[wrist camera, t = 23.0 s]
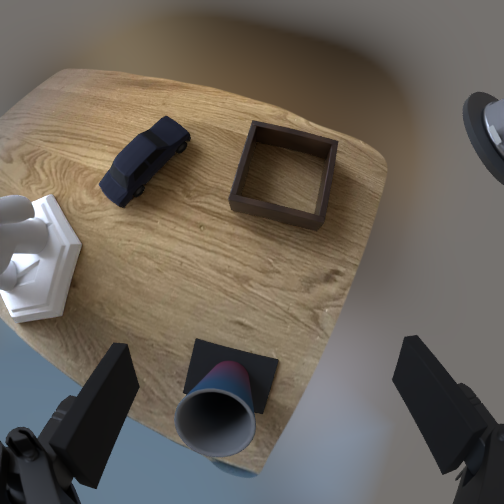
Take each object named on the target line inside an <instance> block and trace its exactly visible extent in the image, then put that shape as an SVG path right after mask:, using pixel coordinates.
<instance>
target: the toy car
mask: <svg viewBox="0 0 504 504" xmlns="http://www.w3.org/2000/svg"><path fill="white" fill-rule="evenodd" d="M190 139H191V137H190V134H189V132H188V131H187V130H186V129H185V128H183V127H182V126H181V125H180V124H178V123H177V122H176V121H174V120H173V119H171V118H169V117H168V116H164V117H163V118H161V119H160V120H159V121H158V122H157V123H155V124H154V125H153V126H152V127H151V128H150V129H149V130H147V131H145V132H143V133H140V134H138V135H137V136H136V137H135V138H134V139H133V140H132V141H131V142H130V143H129V144H128V145H127V146H126V147H125V148H124V149H123V150H122V151H121V152H120V153H119V154H118V155H117V156H116V158H115V159H114V161H113V164H112V166H111V168H110V169H109V170H108V172H107V173H106V174H105V176H104V177H103V179H102V180H101V181H100V183H99V186H100V187H101V189H102V191H103V193H104V194H105V195H106V196H107V197H108V198H109V199H110V200H111V201H112V202H113V203H115V204H116V205H118V206H119V207H122V208H125V206H126V205H127V204H128V203H129V202H130V201H131V200H132V199H133V196H134V197H139V196H140V195H141V194H142V193H143V192H144V189H145V187H144V185H143V184H146V183H147V182H148V181H149V180H150V179H151V178H152V177H153V176H154V175H155V174H156V173H157V172H158V171H159V170H160V169H161V168H162V167H163V166H164V165H165V164H166V163H167V162H168V161H169V160H170V159H171V158H172V157H173V156H174V155H175V152H177V153H178V154H179V153H182V152H183V151H184V150H185V149H186V147H187V143H186V142H185V141H187V142H189V141H190Z"/></svg>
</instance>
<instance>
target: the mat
mask: <svg viewBox="0 0 504 504" xmlns="http://www.w3.org/2000/svg"><path fill="white" fill-rule="evenodd" d="M223 361H235V362H237V363H239V364H241V365H242V366H243V367H244V368H245V369H246V371H247V372H248V376H249V382H250V388H251V395H252V401H253V408H254V412H255V413H260V414H263V412H264V409H265V405H266V402H267V399H268V395H269V392H270V389H271V385H272V382H273V378H274V375H275V371H276V368H277V364H278V361H279V360H278V359H274V358H270V357H265V356H261V355H257V354H253V353H249V352H245V351H241V350H237V349H233V348H229V347H225V346H222V345H218V344H214V343H211V342H207V341H204V340H200V339H197V338H196V340H195V344H194V348H193V352H192V356H191V361H190V365H189V369H188V373H187V378H186V382H185V386H184V391H183V393H184V394H188V393H189V392H190V391H191V390H192V389H193V388H194V387H195V386H196V385H197V384H198V383H199V382H200V381H201V380H202V379H203V378H204V377H205V376H206V375H207V374H208V373H209V372H210V371H211V370H212V369H213V368H214V367H215V366H216V365H217V364H219V363H221V362H223Z"/></svg>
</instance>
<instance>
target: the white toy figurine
mask: <svg viewBox="0 0 504 504" xmlns="http://www.w3.org/2000/svg"><path fill="white" fill-rule="evenodd" d="M81 247H82V244H81V242H80V240H79V239H78V237H77V235H76V234H75V232H74V230H73V229H72V227H71V225H70V224H69V222H68V220H67V219H66V217H65V215H64V213H63V212H62V210H61V208H60V206H59V204H58V203H57V201H56V199H55V197H54V195H52V194H50V195H47V196H45V197H43V198H40V199H38V200H36V201H33V202H31V201H30V200H29V199H28V198H26V197H24V196H19V195H10V196H5V197H1V198H0V293H1V295H2V297H3V300H4V302H5V304H6V306H7V308H8V310H9V313H10V315H11V317H12V318H13V320H14V322H15V323H21V322H27V321H34V320H40V319H46V318H52V317H58V316H62V315H63V311H64V307H65V303H66V299H67V295H68V291H69V287H70V283H71V280H72V276H73V273H74V269H75V266H76V263H77V259H78V256H79V253H80V250H81Z"/></svg>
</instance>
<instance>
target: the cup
mask: <svg viewBox="0 0 504 504" xmlns="http://www.w3.org/2000/svg"><path fill="white" fill-rule="evenodd" d="M174 422H175V428H176V430H177V433H178V435H179V436H180V438H181V439H182V441H183V442H184V443H185V444H186V445H187V446H188V447H190V448H191V449H192V450H194V451H196V452H198V453H200V454H203V455H206V456H211V457H227V456H232V455H234V454H237V453H239V452H241V451H242V450H244V449H245V448H246V447H247V446H248V445H249V444H250V442H251V441H252V440H253V437H254V435H255V430H256V421H255V414H254V408H253V401H252V395H251V388H250V382H249V376H248V372H247V371H246V369H245V368H244V367H243V366H242V365H241V364H239V363H237V362H235V361H223V362H221V363H219V364H217V365H216V366H215V367H214V368H213V369H212V370H211V371H210V372H209V373H208V374H207V375H206V376H205V377H204V378H203V379H202V380H201V381H200V382H199V383H198V384H197V385H196V386H195V387H194V388H193V389H192V390H191V391H190V392H189V393H188V394H187V395H186V396H185V397H184V398H183V399H182V400H181V401H180V403H179V405H178V406H177V408H176V412H175V418H174Z"/></svg>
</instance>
